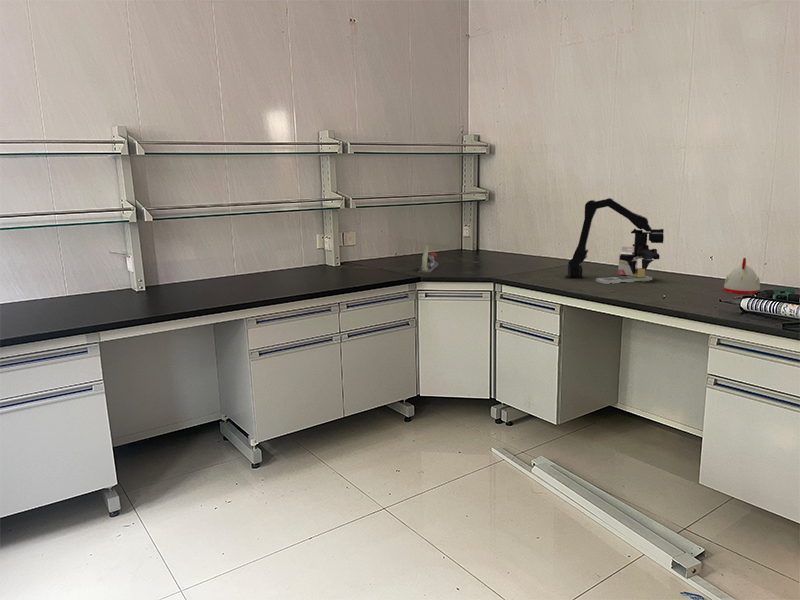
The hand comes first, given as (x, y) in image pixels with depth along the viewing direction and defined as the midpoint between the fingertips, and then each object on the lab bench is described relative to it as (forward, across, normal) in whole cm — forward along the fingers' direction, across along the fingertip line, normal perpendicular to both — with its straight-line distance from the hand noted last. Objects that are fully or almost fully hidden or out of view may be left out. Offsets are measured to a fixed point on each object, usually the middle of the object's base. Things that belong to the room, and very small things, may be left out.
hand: (638, 273), depth 294 cm
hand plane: (+4, -88, +73) cm, 115 cm away
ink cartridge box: (+3, +3, +14) cm, 15 cm away
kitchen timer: (+3, +25, -39) cm, 46 cm away
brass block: (+3, 0, 0) cm, 3 cm away
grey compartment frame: (+3, -8, 0) cm, 9 cm away
